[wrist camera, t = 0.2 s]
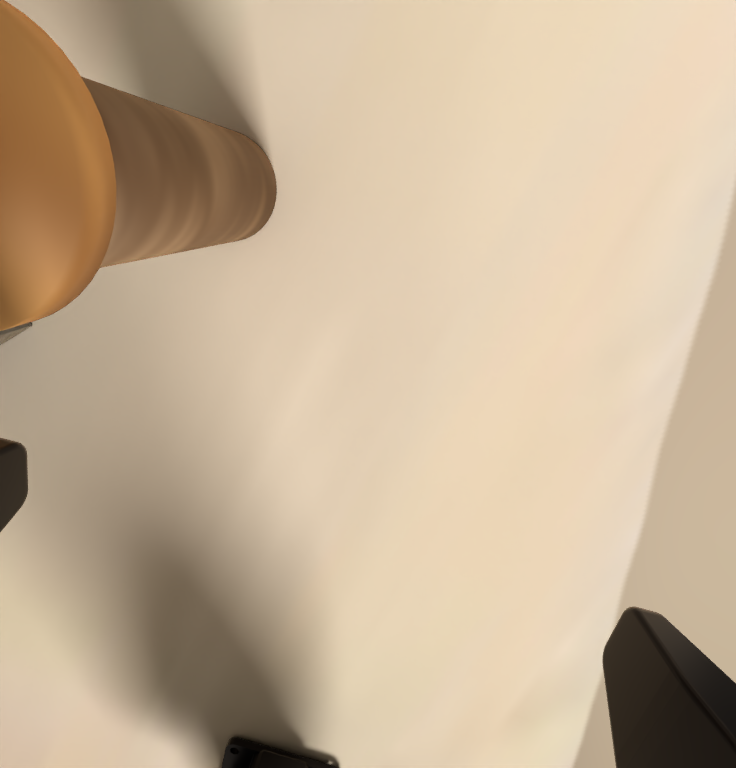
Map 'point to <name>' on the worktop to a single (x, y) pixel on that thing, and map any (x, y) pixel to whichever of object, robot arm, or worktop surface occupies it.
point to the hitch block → (12, 332)
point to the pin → (105, 177)
